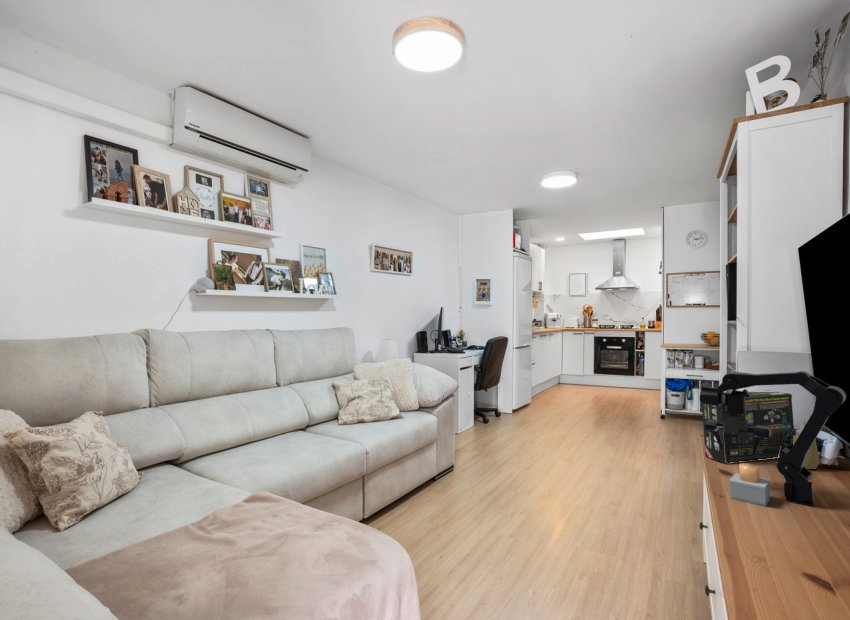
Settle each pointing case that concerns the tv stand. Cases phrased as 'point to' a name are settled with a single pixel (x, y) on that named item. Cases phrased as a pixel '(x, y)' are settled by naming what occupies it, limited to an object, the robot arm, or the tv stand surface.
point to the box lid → (761, 484)
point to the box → (750, 494)
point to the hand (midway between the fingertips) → (738, 452)
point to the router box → (759, 411)
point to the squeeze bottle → (812, 454)
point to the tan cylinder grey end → (749, 472)
